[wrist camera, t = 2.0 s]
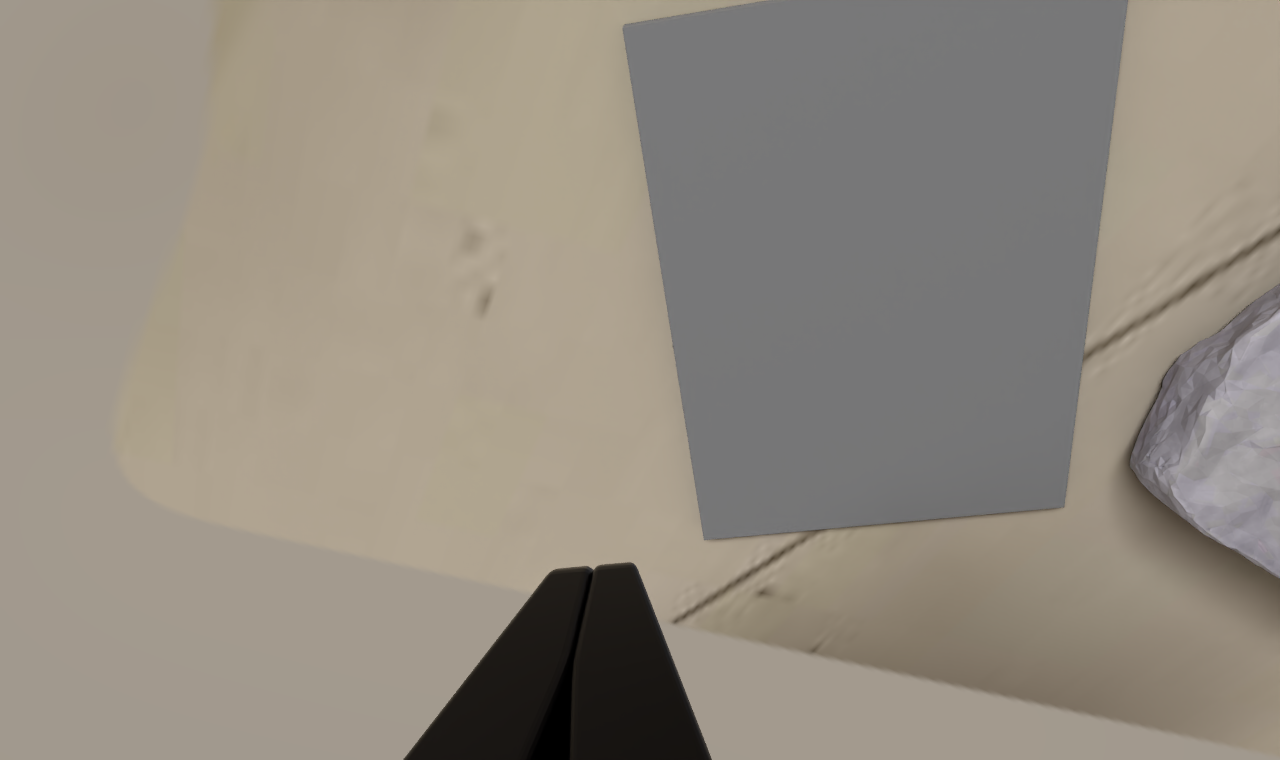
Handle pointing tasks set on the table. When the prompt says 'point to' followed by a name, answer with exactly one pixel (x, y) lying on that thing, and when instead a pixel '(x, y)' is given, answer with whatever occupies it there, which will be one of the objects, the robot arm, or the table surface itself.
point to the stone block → (1222, 436)
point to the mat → (877, 248)
